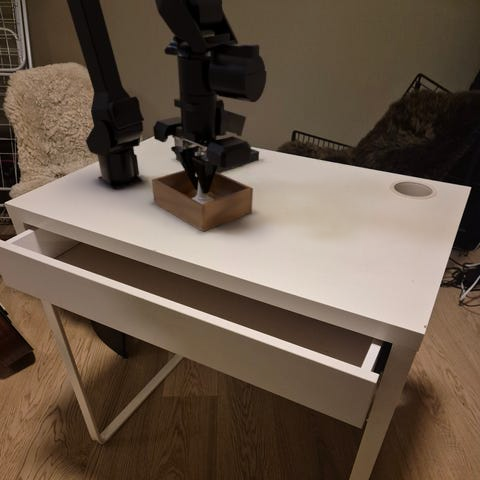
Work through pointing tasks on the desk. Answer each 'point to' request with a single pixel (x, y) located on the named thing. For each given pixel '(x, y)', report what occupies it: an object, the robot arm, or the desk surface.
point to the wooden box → (200, 215)
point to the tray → (253, 158)
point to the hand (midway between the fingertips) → (201, 191)
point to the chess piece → (200, 196)
